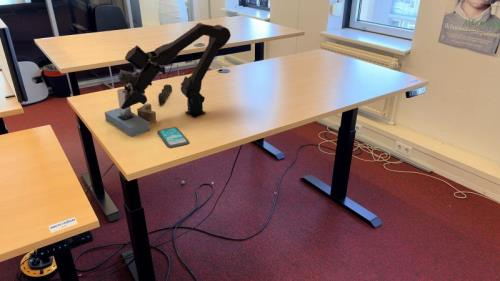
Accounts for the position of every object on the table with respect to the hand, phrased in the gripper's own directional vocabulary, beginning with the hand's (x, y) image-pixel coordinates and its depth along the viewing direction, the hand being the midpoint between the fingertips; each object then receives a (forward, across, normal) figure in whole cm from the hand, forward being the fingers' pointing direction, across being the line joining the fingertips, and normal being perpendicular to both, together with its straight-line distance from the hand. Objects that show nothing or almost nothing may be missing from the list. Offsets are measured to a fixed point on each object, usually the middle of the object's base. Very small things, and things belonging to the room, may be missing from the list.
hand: (121, 106), depth 146 cm
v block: (-1, -4, +13) cm, 13 cm away
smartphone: (-4, +17, +17) cm, 25 cm away
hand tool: (-10, -22, +22) cm, 33 cm away
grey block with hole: (+5, 0, +7) cm, 8 cm away
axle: (+4, 0, +6) cm, 7 cm away
